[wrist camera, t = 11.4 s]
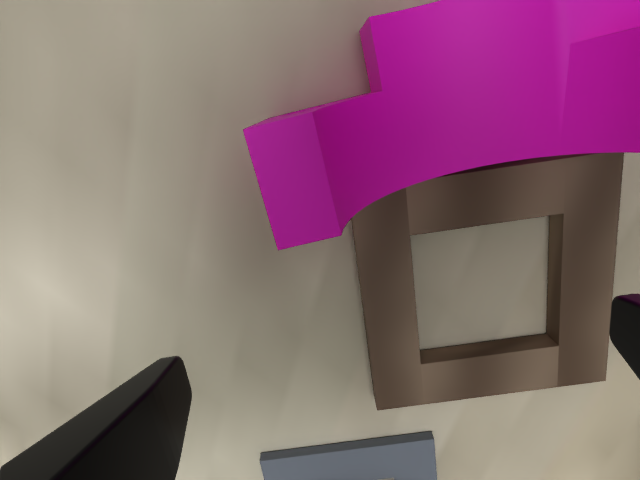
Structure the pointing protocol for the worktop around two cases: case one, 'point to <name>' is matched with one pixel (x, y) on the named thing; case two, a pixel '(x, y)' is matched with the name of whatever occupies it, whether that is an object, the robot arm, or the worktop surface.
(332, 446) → the rubber mat
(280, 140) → the toy block
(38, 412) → the worktop surface
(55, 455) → the robot arm
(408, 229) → the walnut collar
